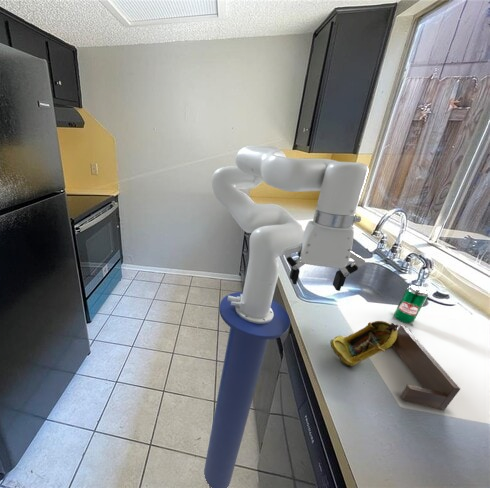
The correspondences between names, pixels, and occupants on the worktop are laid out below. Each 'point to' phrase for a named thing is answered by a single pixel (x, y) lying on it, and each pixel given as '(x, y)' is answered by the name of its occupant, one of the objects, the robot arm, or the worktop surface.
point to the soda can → (410, 304)
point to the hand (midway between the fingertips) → (314, 284)
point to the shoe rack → (424, 373)
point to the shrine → (365, 342)
